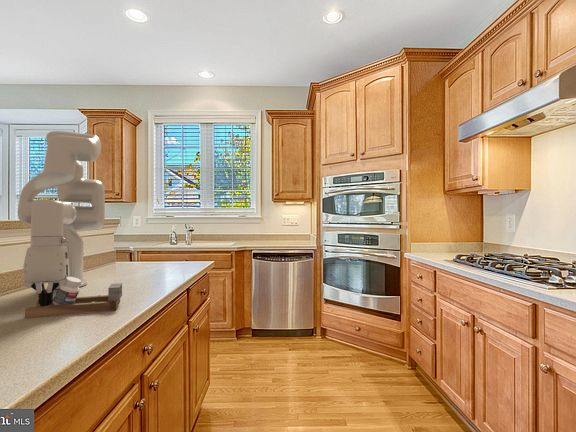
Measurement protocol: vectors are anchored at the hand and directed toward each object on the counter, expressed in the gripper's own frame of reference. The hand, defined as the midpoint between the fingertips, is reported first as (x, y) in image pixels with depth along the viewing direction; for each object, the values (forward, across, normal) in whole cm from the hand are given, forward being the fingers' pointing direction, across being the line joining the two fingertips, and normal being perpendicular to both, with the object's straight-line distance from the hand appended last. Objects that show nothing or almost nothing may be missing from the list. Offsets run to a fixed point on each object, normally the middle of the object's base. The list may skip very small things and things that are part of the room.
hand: (45, 306), depth 90 cm
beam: (+2, -7, -2) cm, 8 cm away
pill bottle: (+1, -3, -1) cm, 4 cm away
